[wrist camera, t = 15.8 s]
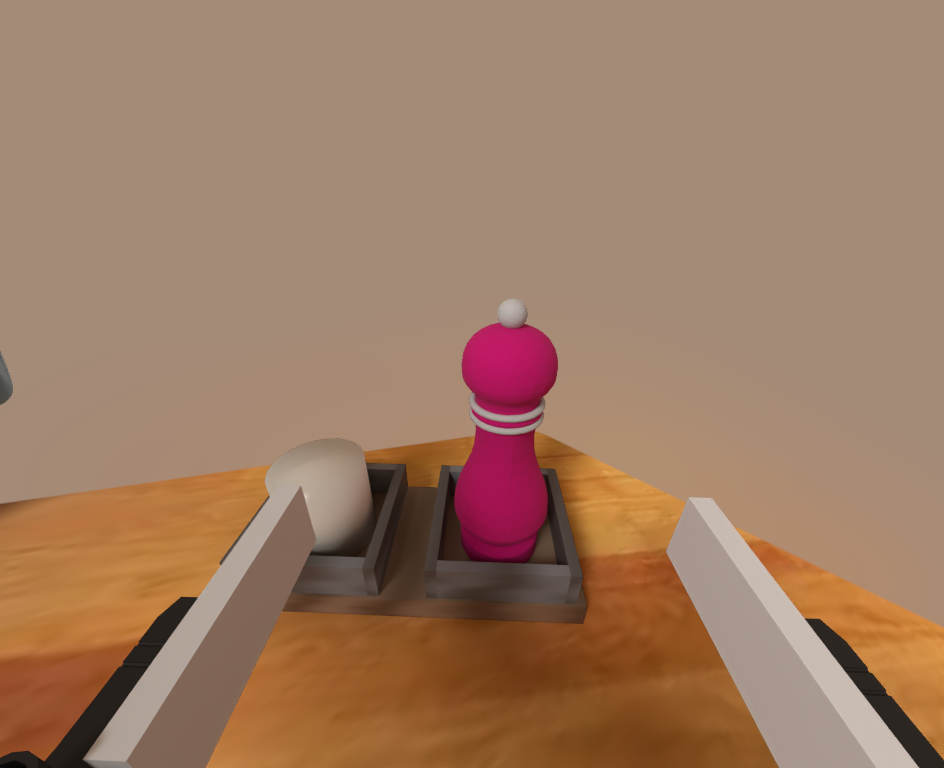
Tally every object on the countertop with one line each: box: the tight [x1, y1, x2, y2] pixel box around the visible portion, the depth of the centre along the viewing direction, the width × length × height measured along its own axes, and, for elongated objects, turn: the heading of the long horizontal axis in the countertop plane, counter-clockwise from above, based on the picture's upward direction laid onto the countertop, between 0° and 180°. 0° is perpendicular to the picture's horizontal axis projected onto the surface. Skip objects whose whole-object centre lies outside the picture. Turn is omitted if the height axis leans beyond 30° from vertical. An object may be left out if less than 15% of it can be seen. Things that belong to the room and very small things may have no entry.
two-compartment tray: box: [220, 463, 587, 624], centre depth 29 cm, size 26×11×5 cm, turn 88°
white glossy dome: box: [265, 439, 376, 557], centre depth 28 cm, size 7×7×7 cm
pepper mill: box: [454, 299, 558, 564], centre depth 25 cm, size 7×7×20 cm
